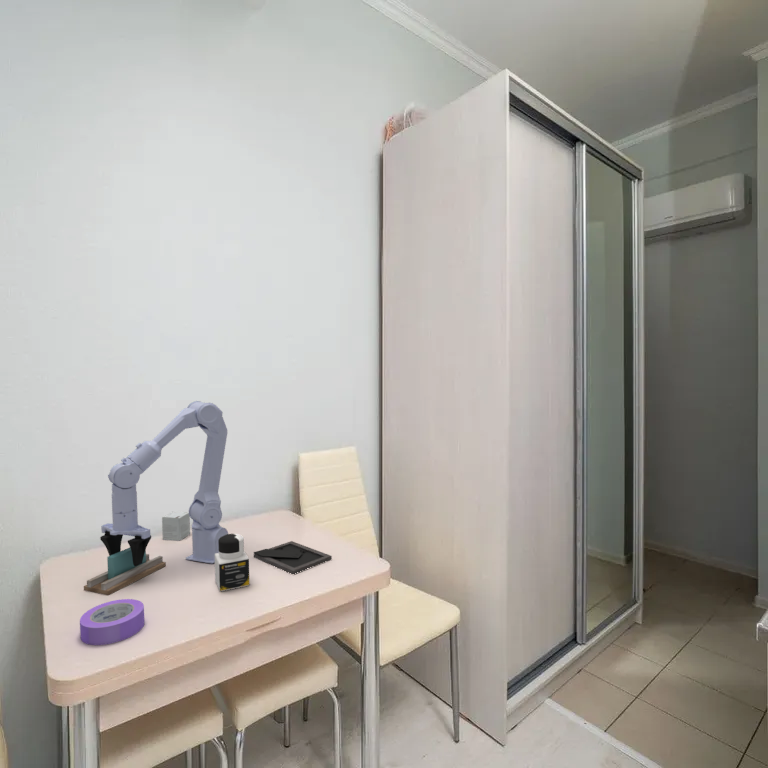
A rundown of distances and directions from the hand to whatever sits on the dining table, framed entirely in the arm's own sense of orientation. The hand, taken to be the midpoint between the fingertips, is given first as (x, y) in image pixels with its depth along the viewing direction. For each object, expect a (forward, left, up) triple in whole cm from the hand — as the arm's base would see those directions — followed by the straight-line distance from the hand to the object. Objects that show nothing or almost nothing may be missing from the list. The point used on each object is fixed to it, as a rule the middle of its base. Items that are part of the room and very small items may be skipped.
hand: (126, 562), depth 128 cm
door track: (0, 0, -4) cm, 4 cm away
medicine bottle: (-28, -6, -4) cm, 29 cm away
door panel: (0, 0, -3) cm, 3 cm away
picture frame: (-34, -25, -5) cm, 42 cm away
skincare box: (+10, -28, -4) cm, 30 cm away
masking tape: (-18, +20, -4) cm, 27 cm away
